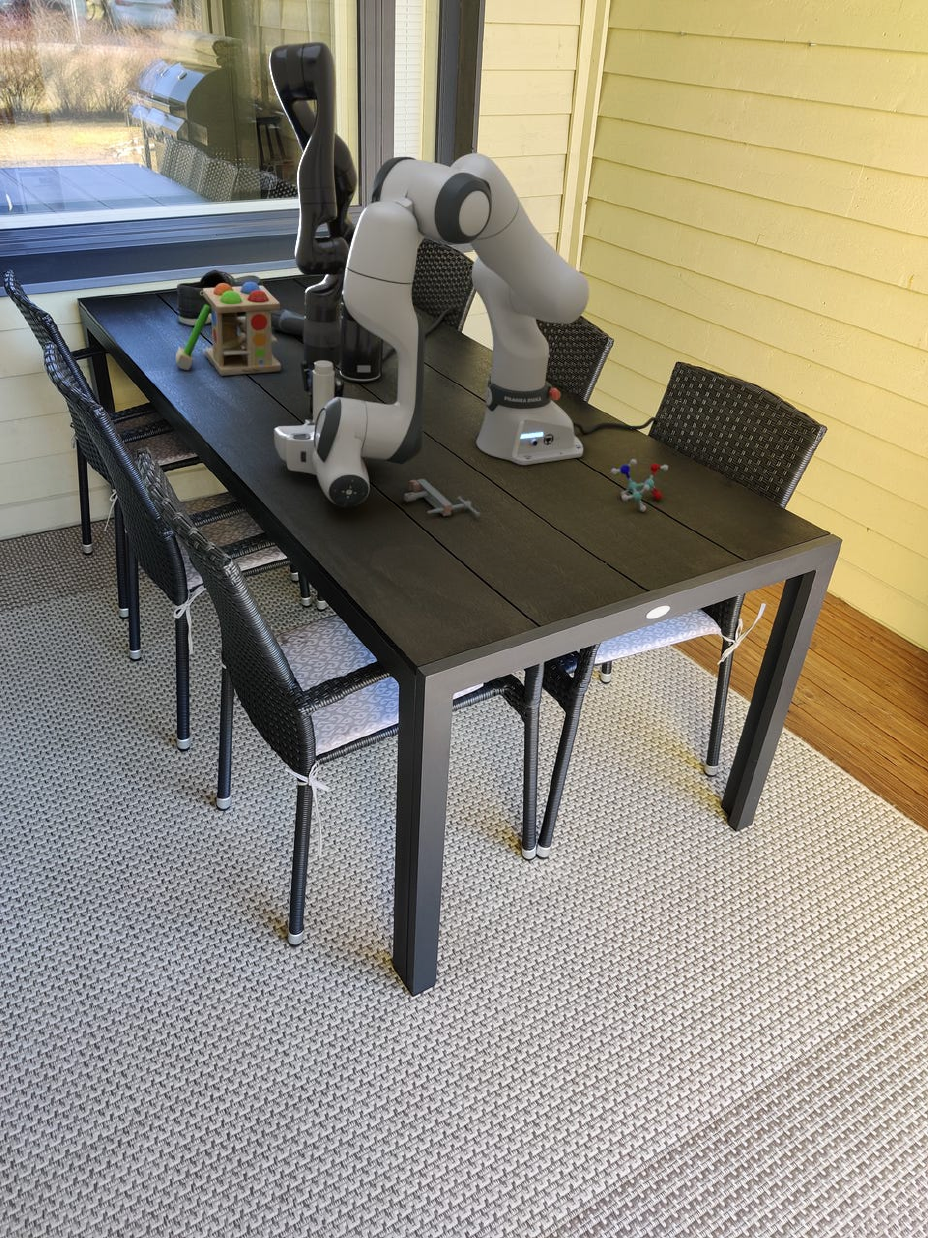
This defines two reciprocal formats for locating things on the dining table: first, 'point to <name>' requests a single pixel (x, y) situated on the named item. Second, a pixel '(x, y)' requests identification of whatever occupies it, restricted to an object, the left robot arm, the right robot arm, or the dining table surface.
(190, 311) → the boat shoe
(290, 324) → the power drill
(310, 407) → the lid
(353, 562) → the dining table surface
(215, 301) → the pounding bench toy
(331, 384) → the white cylindrical bottle
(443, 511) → the clamp
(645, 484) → the molecular model
